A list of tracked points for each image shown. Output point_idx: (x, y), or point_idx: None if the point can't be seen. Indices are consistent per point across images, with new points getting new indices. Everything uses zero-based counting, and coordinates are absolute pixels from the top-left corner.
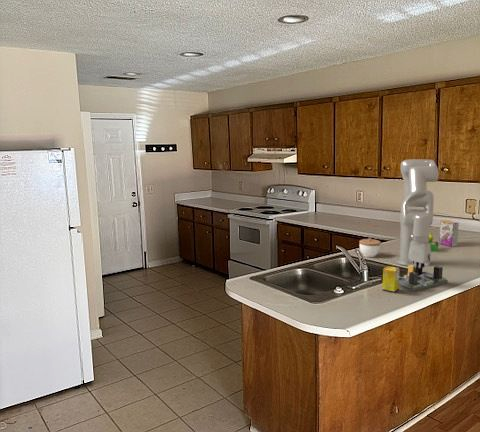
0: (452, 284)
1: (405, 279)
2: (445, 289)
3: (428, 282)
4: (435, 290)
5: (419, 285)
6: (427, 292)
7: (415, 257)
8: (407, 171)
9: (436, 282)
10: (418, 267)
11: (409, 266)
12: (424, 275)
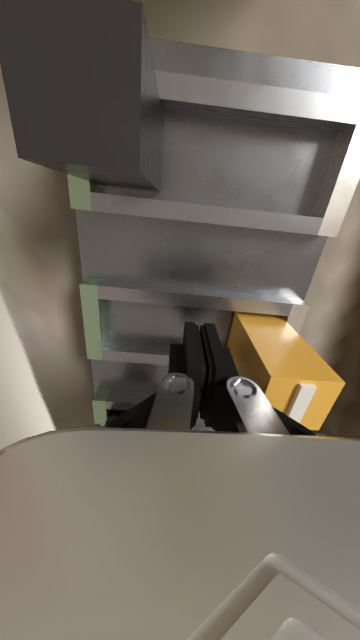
0: (74, 423)
1: (251, 210)
2: (23, 340)
3: (82, 303)
4: (29, 275)
5: (71, 175)
6: (11, 180)
7: (299, 576)
8: None
9: (95, 371)
10: (190, 379)
11: (320, 375)
12: None
